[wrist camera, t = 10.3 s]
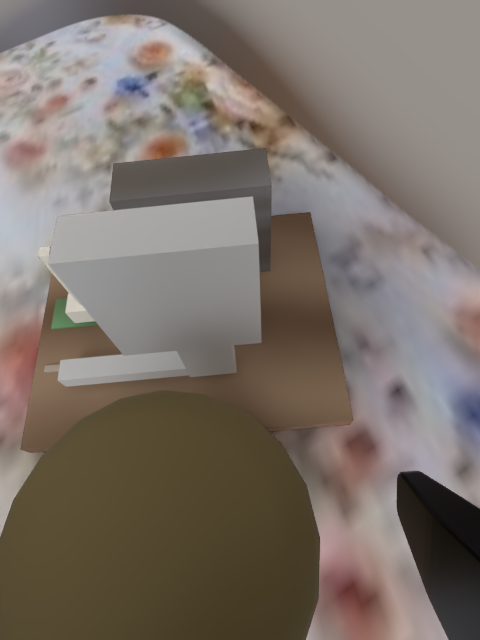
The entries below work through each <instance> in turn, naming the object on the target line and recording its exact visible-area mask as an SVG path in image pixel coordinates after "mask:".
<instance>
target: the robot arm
mask: <svg viewBox="0 0 480 640" xmlns="http://www.w3.org/2000/svg"><path fill="white" fill-rule="evenodd" d="M397 512H398V516H399V519H400V522H401V525H402V527H403V530H404V533H405V535H406V538H407V541H408V544H409V546H410V549H411V552H412V554H413V557H414V560H415V563H416V565H417V568H418V571H419V573H420V576H421V579H422V582H423V584H424V587H425V589H426V592H427V594H428V597H429V599H430V601H431V604H432V606H433V608H434V610H435V612H436V614H437V616H438V618H439V621H440V623H441V625H442V627H443V629H444V631H445V633H446V635H447V637H448V639H449V640H480V508H478V507H476V506H475V505H473V504H472V503H470V502H468V501H467V500H465V499H464V498H462V497H460V496H459V495H457V494H456V493H454V492H452V491H451V490H449V489H448V488H446V487H445V486H443V485H441V484H440V483H438V482H437V481H435V480H433V479H432V478H430V477H429V476H427V475H425V474H424V473H422V472H420V471H407V472H400V473H399V474H398V477H397Z"/></svg>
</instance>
